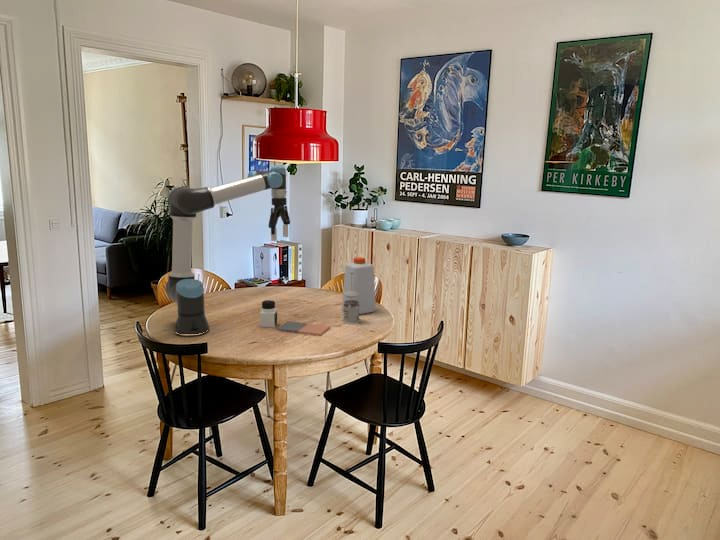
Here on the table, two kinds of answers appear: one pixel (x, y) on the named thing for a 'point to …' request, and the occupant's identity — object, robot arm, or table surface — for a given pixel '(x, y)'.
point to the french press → (351, 307)
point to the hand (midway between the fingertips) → (279, 238)
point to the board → (303, 328)
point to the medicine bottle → (268, 314)
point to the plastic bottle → (360, 284)
